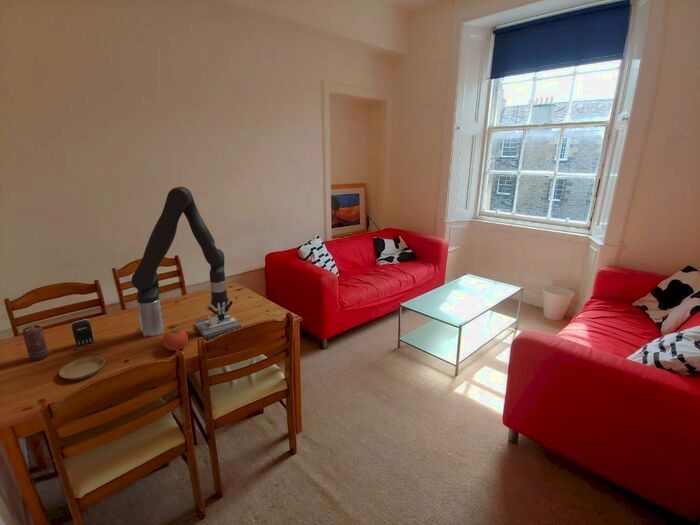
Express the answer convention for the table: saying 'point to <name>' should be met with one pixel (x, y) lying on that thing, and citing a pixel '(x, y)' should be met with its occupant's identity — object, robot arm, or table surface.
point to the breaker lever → (212, 319)
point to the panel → (222, 325)
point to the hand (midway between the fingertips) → (221, 320)
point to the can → (35, 343)
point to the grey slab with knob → (218, 332)
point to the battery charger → (82, 332)
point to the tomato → (175, 339)
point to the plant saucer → (82, 368)
